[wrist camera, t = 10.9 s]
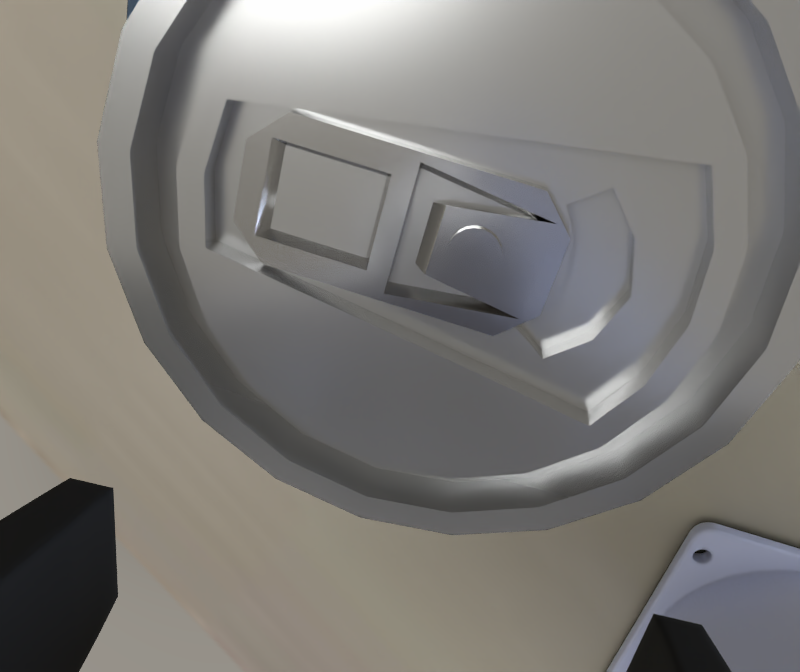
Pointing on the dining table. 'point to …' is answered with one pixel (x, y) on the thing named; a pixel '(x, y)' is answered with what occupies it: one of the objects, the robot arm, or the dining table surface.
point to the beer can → (462, 240)
